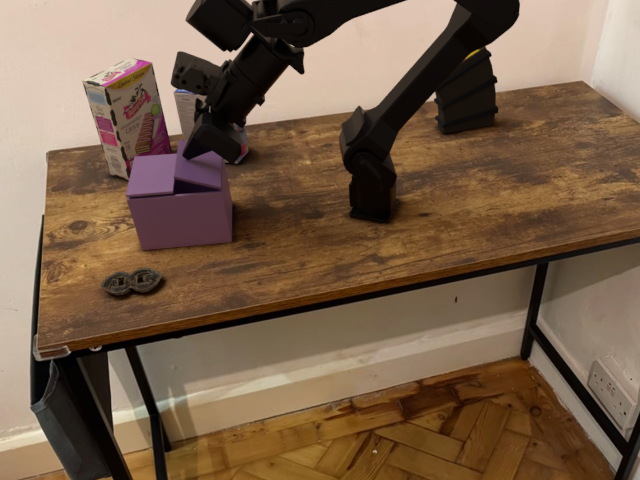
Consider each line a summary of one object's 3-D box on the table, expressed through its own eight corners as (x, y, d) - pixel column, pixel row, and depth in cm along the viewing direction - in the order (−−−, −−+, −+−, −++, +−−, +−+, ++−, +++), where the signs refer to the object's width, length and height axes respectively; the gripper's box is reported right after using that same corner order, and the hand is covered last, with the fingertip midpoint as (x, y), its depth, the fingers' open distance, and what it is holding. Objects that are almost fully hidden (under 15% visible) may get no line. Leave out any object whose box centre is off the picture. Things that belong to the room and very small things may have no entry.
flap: (221, 152, 101) (222, 149, 100) (220, 189, 93) (220, 187, 93) (178, 141, 98) (179, 139, 98) (173, 178, 91) (173, 176, 90)
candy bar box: (133, 183, 111) (104, 86, 100) (110, 176, 113) (79, 80, 101) (175, 153, 119) (153, 60, 107) (153, 147, 120) (128, 55, 109)
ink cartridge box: (250, 150, 119) (238, 69, 109) (239, 165, 116) (225, 82, 106) (199, 145, 121) (182, 64, 111) (186, 159, 117) (168, 77, 107)
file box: (232, 203, 107) (222, 149, 100) (231, 242, 99) (220, 187, 93) (149, 210, 105) (134, 156, 99) (142, 250, 97) (124, 195, 91)
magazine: (511, 115, 126) (488, 46, 115) (452, 153, 127) (424, 88, 116) (502, 107, 129) (479, 39, 118) (444, 144, 129) (416, 80, 118)
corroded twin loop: (103, 279, 92) (101, 273, 92) (162, 270, 94) (160, 264, 93) (102, 301, 89) (99, 295, 88) (163, 291, 90) (161, 285, 90)
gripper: (202, 7, 90) (140, 93, 96) (196, 60, 77) (124, 155, 83) (268, 62, 96) (205, 139, 103) (273, 119, 83) (201, 203, 90)
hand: (185, 156), depth 94 cm, fingers closed
